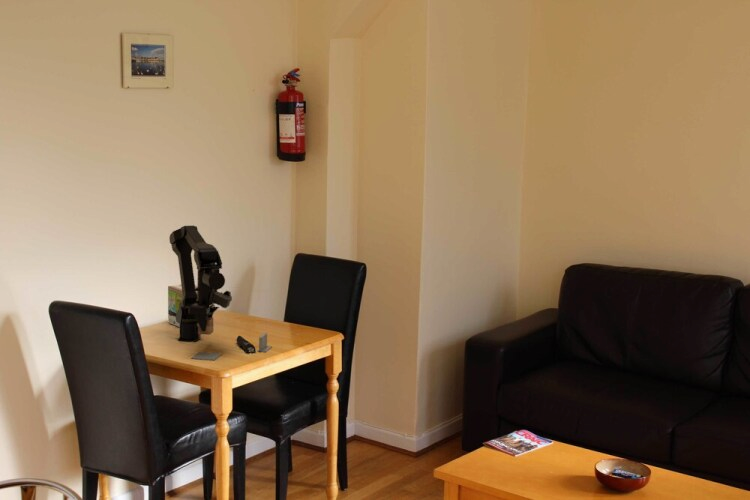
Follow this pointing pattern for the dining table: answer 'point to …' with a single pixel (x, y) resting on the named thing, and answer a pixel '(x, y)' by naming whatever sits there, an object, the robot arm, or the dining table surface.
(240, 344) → the electric trimmer
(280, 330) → the dining table surface
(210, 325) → the walnut block
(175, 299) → the tea box
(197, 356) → the pad
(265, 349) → the gray angled bracket
